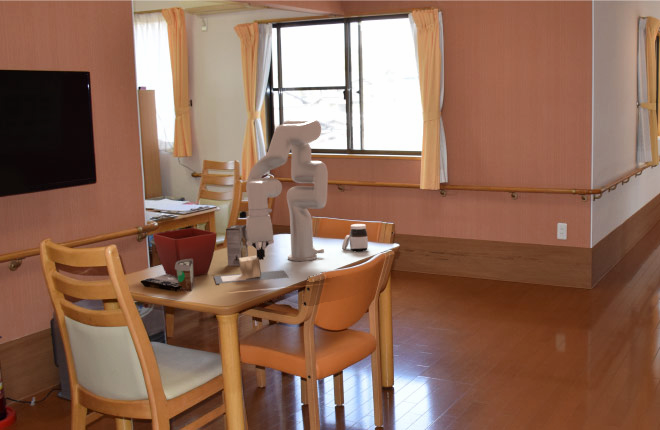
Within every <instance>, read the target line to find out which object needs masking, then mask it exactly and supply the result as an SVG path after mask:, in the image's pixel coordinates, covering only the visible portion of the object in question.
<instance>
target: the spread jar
mask: <svg viewBox="0 0 660 430" xmlns="http://www.w3.org/2000/svg"><path fill="white" fill-rule="evenodd" d="M366 228H367V225H366V224H364V223H354V224H350V231H349V234H346V236H344V239H343V241H342V246H341V249H342V250H344V251H345V250H347V249H348V248H347V247H348V246H349V247H350V250H351V252H354V251H356V252H355V253H362V252H366V251H367V250H368V249H369V248H368V247H369V246H368V245H369V244H368V242H369V240H368V231H367V229H366Z"/></svg>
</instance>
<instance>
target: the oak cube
mask: <svg viewBox="0 0 660 430" xmlns="http://www.w3.org/2000/svg"><path fill="white" fill-rule="evenodd" d="M239 262H240V266H239V268H240V274H241V276H242V278H243V279H248V278H255V277H261V272H262V271H261V264H260V260H259V258H258V257H257V254H256V255H250V256H249V255H248V257H243V258H239Z"/></svg>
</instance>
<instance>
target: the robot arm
mask: <svg viewBox="0 0 660 430" xmlns="http://www.w3.org/2000/svg"><path fill="white" fill-rule="evenodd" d="M321 125H322V124H321V123H320V122H319V121H318V120H316V119H290V120H286V121H283V123H282V124H280V125H278V126H277V127H276V128H274V133H273V135H272V138H271V141H270V144H269V147H268V148H267V149H268V150H267V153H266V154H265V155H264V156H263V157H262V158H260V159H259V160H258V161H257V162H256V163H255V164H254V165H253V166H252V168H251V169H250V171H249V174H248V177H247V181H246V184H245V190H246V193H247V202H248V204H247V205H248V207H247V208H248V216H247V217H246V224H245V225H246V239H247V243H246V244H247V246H248V247H253V248H255V249H256V255H257V257H258V258H259V261H261V260H262V261H264V258H265V257H266V251H265V250H266V248H267V247H268V246H269V245H272V244H274V231H273V229H274V228H273V224H272V218H271V215H270V214H271V213H272V212H273V209H272V208H269V205H268V198H269V199H270V198H276V197H278V196H279V195H280V194H281V193H282V191H283V183H282V182H281V181H280V180H279V179H277V178H275V177H274V178H272V177H271V178H270V177H263V176H264V175H265V174H267V173H268V172H269V171H271V170H274V169H277V168H278V167H281V166H284V165H285V164H286V163H287V161H288V159H289V155H290V152H291V162H290V163H291V164H290V165H291V166H290V167H291V168H290V172H291V173H290V174H291V175H290V177H291V180H292V181H293V182H294V183H296V184H313V186H311V185H310V186H308V185H307V186H306V185H305V186H304V185H295V186H293V187H290V188H289V189H288V190H287V192H286V202H287V206H288V210H289V211H288V212H289V224H290V225H289V226H290V227H289V228H290V248H291V249H290V252H291V253H290V254H288V256H287V259H288V260H289V261H294V262H308V261H312V260H316V259H317V258H318V254H324V253H325V249H324V248H320V247H319V248H315V247H314V242H313V241H314V239H313V237H314V236H313V217H312V215H311V213H310V211H309V209H310V210H312V209H313V210H315V209H316V210H320V209H321V210H322V209H323V208H325V207H326V204H327V203H328V202H327V201H328V180H329V177H328V176H329V173H328V168H327V165H326V164H325V163H324V162H323V161H320V160H312V148H311V145H310V143H312V142H314V141H316V140H318V139H319V138H320V136H321V134H322V126H321ZM259 243H261V246H260V244H259Z"/></svg>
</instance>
